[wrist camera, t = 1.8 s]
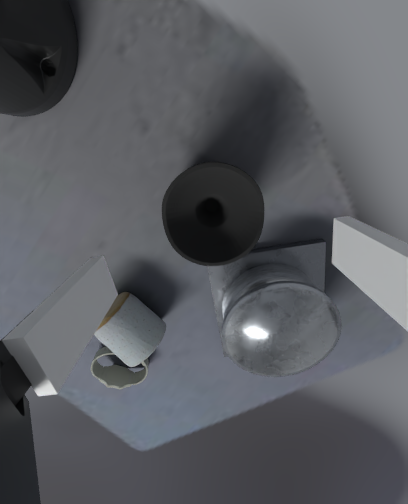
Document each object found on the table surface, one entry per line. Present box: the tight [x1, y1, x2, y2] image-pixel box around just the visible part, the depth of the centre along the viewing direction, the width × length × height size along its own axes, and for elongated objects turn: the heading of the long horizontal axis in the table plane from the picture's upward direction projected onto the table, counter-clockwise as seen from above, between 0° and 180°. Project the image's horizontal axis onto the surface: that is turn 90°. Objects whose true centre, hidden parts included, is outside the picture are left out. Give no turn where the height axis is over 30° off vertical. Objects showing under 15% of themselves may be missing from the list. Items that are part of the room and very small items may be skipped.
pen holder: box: [162, 162, 264, 266], centre depth 26 cm, size 9×9×10 cm
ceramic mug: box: [94, 292, 166, 367], centre depth 34 cm, size 11×8×8 cm
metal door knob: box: [207, 239, 342, 377], centre depth 33 cm, size 18×16×7 cm
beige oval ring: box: [91, 346, 149, 389], centre depth 39 cm, size 9×6×5 cm
